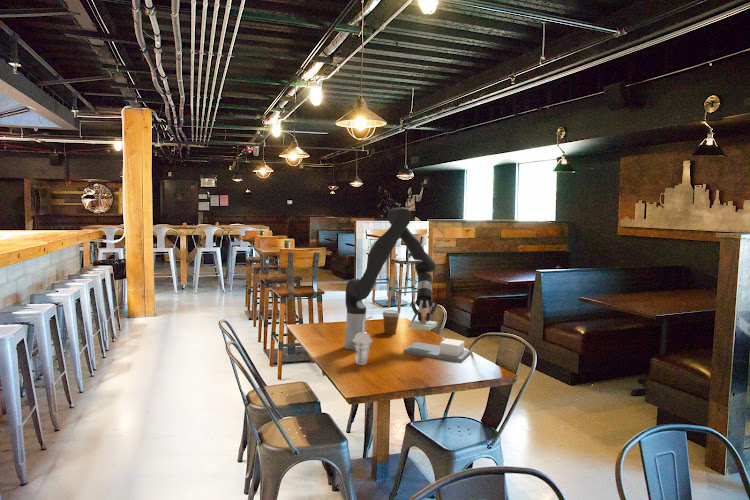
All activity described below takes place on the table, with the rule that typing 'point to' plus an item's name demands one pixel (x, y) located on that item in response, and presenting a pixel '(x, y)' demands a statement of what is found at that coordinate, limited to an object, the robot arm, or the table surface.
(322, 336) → the table surface
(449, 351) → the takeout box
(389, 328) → the disposable coffee cup
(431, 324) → the mint lid
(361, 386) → the table surface
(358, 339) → the cup with straw
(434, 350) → the slate board
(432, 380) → the table surface
